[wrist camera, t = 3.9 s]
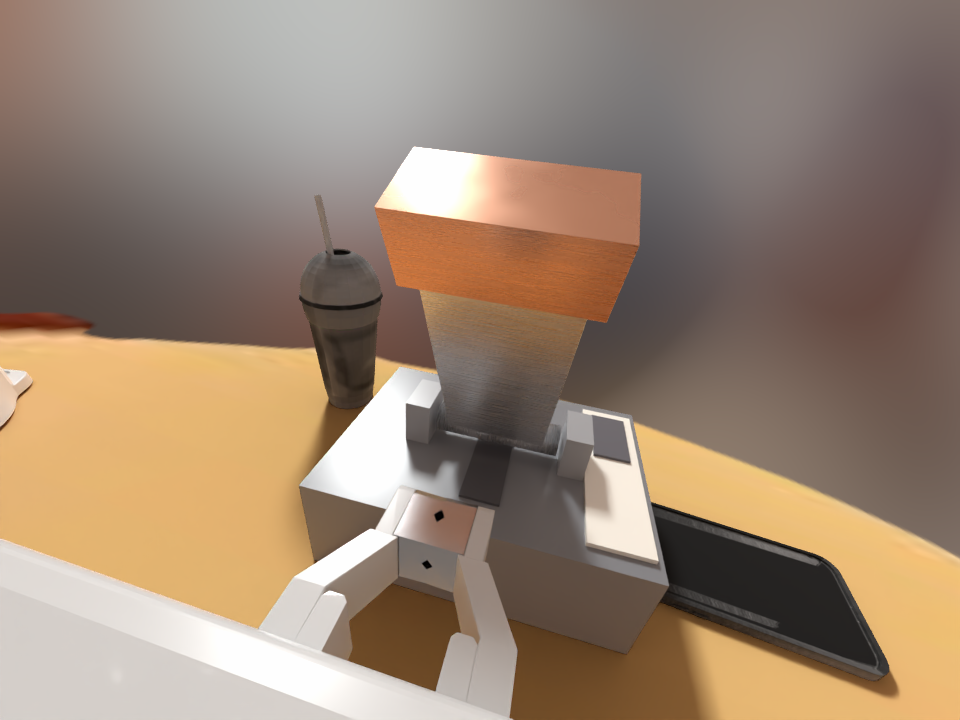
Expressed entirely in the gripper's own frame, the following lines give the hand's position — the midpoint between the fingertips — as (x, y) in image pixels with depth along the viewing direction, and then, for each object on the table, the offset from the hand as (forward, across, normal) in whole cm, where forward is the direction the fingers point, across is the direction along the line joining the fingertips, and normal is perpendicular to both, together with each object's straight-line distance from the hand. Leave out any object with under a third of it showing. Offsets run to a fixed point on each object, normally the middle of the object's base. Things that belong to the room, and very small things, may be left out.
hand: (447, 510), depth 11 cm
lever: (+12, 0, +6) cm, 14 cm away
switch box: (+12, 0, +15) cm, 19 cm away
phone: (+12, -18, +15) cm, 27 cm away
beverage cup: (+22, +17, +15) cm, 32 cm away
